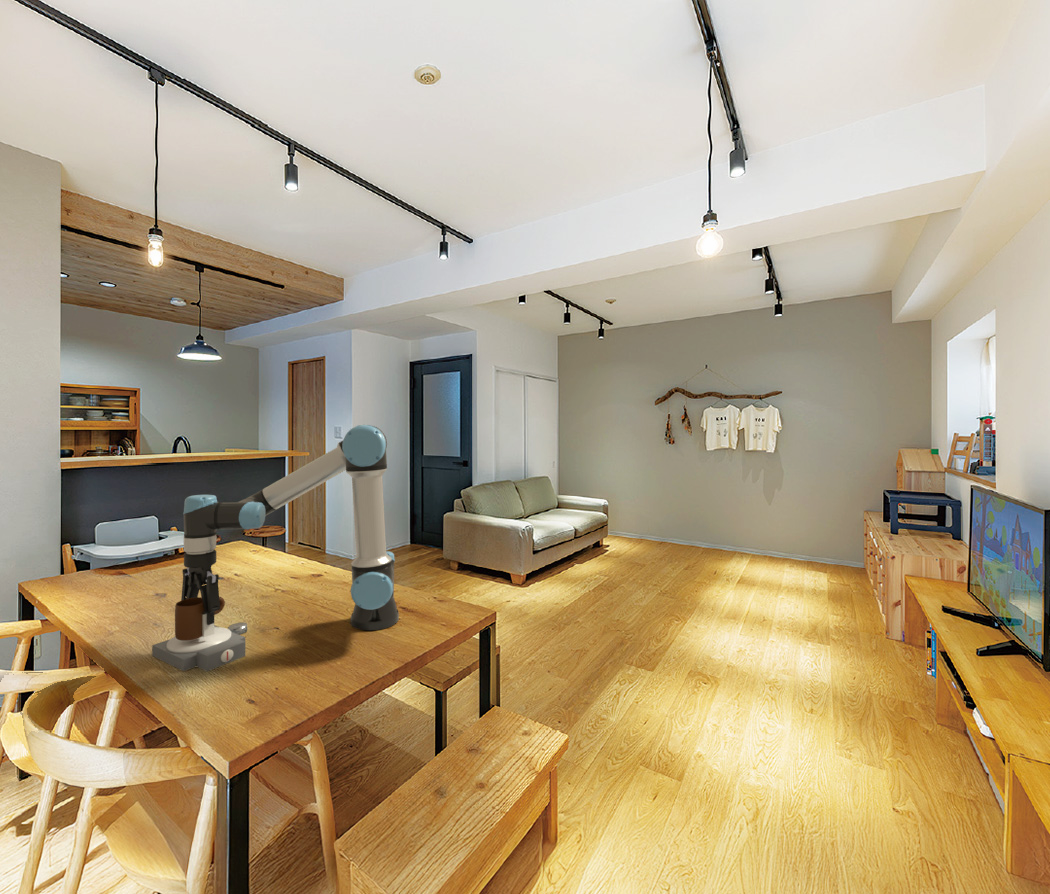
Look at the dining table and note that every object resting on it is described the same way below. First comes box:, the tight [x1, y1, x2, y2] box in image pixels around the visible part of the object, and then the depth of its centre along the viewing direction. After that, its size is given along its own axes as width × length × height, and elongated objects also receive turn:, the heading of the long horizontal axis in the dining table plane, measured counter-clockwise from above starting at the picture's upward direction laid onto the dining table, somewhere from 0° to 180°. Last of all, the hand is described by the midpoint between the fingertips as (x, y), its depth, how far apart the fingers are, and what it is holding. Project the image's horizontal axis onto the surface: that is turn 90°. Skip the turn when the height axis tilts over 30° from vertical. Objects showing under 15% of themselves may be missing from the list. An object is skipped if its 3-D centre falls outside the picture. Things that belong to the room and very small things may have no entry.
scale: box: [151, 624, 247, 672], centre depth 133 cm, size 21×16×4 cm
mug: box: [174, 596, 226, 641], centre depth 134 cm, size 12×8×9 cm, turn 143°
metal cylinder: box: [227, 621, 248, 636], centre depth 148 cm, size 5×5×2 cm
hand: (200, 631), depth 134 cm, fingers closed on mug, 7 cm apart
